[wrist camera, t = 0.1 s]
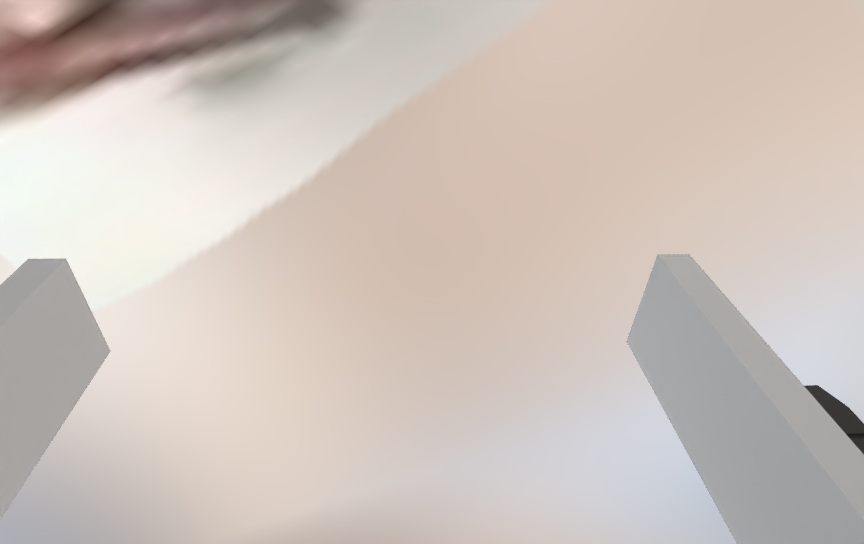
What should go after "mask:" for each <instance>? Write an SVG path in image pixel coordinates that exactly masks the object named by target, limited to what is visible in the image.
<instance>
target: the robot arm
mask: <svg viewBox="0 0 864 544" xmlns="http://www.w3.org/2000/svg"><path fill="white" fill-rule="evenodd" d="M627 343H628V345H629V347H630V349H631V350H632V352H633V354H634V356H635V358H636V359H637V361H638V363H639V365H640V367H641V369H642V371H643V372H644V374H645V376H646V378H647V380H648V382H649V383H650V385H651V387H652V389H653V390H654V392H655V394H656V396H657V398H658V400H659V401H660V403H661V405H662V407H663V409H664V411H665V412H666V414H667V416H668V418H669V420H670V422H671V423H672V425H673V427H674V429H675V431H676V433H677V435H678V436H679V438H680V440H681V442H682V444H683V445H684V447H685V449H686V451H687V453H688V455H689V457H690V458H691V460H692V462H693V464H694V466H695V468H696V469H697V471H698V473H699V475H700V476H701V479H702V480H703V482H704V484H705V486H706V488H707V490H708V491H709V493H710V495H711V497H712V499H713V501H714V502H715V504H716V506H717V508H718V510H719V511H720V513H721V515H722V517H723V519H724V521H725V523H726V524H727V526H728V528H729V530H730V532H731V534H732V535H733V537H734V539H735V541H736V543H737V544H864V424H863V423H862V421H861V420H860V419H859V418H858V417H857V416H856V415H855V414H854V413H853V412H852V411H851V410H850V408H848V407H847V406H845V404H843V403H842V402H840V401H839V400H837V399H836V398H835V397H833V396H832V395H830V394H829V393H828V392H826V391H825V390H823V389H822V388H821V387H819V386H817V385H815V386H804V385H802V383H801V382H800V381H799V380H798V379H797V377H796V376H795V375H794V374H793V373H792V372H791V371H790V369H789V368H788V367H787V366H786V365H785V364H784V363H783V362H782V360H781V359H780V358H779V357H778V356H777V355H776V353H775V352H774V351H773V350H772V349H771V348H770V346H769V345H767V343H766V342H765V341H764V340H763V339H762V337H761V336H760V335H759V334H758V333H757V332H756V331H755V329H754V328H753V327H752V326H751V325H750V324H749V322H748V321H747V320H746V319H745V318H744V317H743V316H742V315H741V313H740V312H739V311H738V310H737V309H736V307H735V306H734V305H733V304H732V303H731V302H730V301H729V299H728V298H727V297H726V296H725V295H724V294H723V293H722V291H721V290H720V289H719V288H718V287H717V286H716V285H715V283H714V282H713V281H712V280H711V279H710V278H709V277H708V275H707V274H706V273H705V272H704V271H703V270H702V269H701V267H700V266H699V265H698V264H697V263H696V262H695V260H694V259H693V258H692V257H691V256H690V255H689V254H685V255H683V254H681V255H679V254H677V255H657V258H656V260H655V263H654V266H653V269H652V272H651V274H650V277H649V280H648V283H647V286H646V289H645V291H644V294H643V297H642V300H641V302H640V305H639V308H638V311H637V314H636V317H635V319H634V322H633V325H632V328H631V331H630V333H629V336H628V339H627ZM109 353H110V349H109V347H108V345H107V343H106V341H105V339H104V337H103V335H102V333H101V331H100V329H99V327H98V324H97V322H96V320H95V318H94V316H93V314H92V312H91V310H90V308H89V306H88V304H87V301H86V299H85V297H84V295H83V293H82V291H81V289H80V287H79V285H78V283H77V281H76V279H75V277H74V274H73V272H72V270H71V268H70V266H69V264H68V262H67V260H66V259H28V260H27V261H26V262H25V263H24V264H22V265H21V266H20V267H19V268H18V269H17V270H16V271H15V272H14V273H13V274H12V275H11V276H10V277H9V278H7V279H6V280H5V281H4V282H3V283H2V284H1V285H0V519H1V518H2V516H3V514H4V513H5V511H6V510H7V508H8V507H9V505H10V504H11V502H12V501H13V499H14V498H15V496H16V495H17V493H18V492H19V490H20V489H21V487H22V486H23V484H24V482H25V481H26V479H27V478H28V476H29V475H30V473H31V472H32V470H33V469H34V467H35V466H36V464H37V463H38V461H39V460H40V458H41V457H42V455H43V453H44V452H45V450H46V449H47V447H48V446H49V444H50V443H51V441H52V440H53V438H54V437H55V435H56V434H57V432H58V431H59V429H60V428H61V426H62V424H63V423H64V421H65V420H66V418H67V417H68V415H69V414H70V412H71V411H72V409H73V408H74V406H75V405H76V403H77V402H78V400H79V398H80V397H81V395H82V394H83V392H84V391H85V389H86V388H87V386H88V385H89V383H90V382H91V380H92V379H93V377H94V375H95V374H96V373H97V371H98V369H99V368H100V366H101V365H102V363H103V362H104V360H105V359H106V357H107V356H108V354H109Z"/></svg>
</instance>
